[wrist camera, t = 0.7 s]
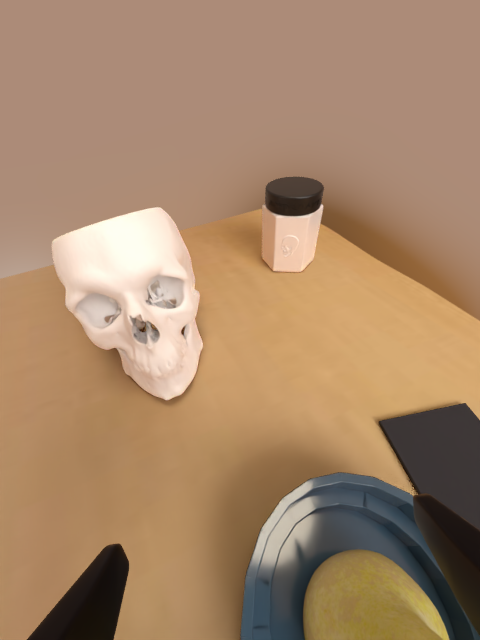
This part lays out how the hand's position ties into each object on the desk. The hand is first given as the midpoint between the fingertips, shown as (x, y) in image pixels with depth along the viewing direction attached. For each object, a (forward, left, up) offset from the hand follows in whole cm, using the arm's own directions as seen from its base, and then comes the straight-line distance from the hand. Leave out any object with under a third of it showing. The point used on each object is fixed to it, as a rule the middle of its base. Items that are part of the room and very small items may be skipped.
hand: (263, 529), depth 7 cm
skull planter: (+24, +9, -15) cm, 29 cm away
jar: (+36, -13, -15) cm, 41 cm away
